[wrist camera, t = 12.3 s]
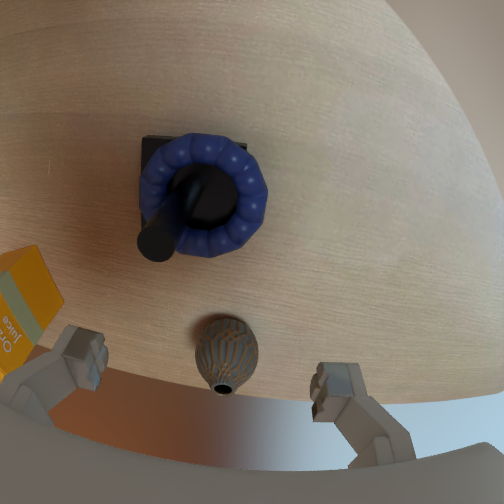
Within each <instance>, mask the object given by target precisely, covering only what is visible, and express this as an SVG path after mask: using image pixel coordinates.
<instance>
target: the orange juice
mask: <svg viewBox="0 0 504 504" xmlns="http://www.w3.org/2000/svg"><path fill="white" fill-rule="evenodd" d="M63 303H64V301H63V299H62V297H61V295H60V293H59V291H58V289H57V287H56V285H55V284H54V282H53V280H52V278H51V276H50V274H49V272H48V270H47V268H46V265H45V263H44V261H43V259H42V257H41V255H40V253H39V250H38V248H37V246H36V245H32V246H29V247H25V248H21V249H18V250H14V251H11V252H7V253H4V254H2V255H1V256H0V383H1V381H2V380H3V378H4V376H5V375H7V374H8V373H10V372H12V371H14V370H16V369H17V368H19V367H21V366H22V365H23V363H24V362H25V360H26V358H27V357H28V355H29V354H30V352H31V350H32V349H33V347H35V345H36V344H37V342H38V340H39V339H40V337H41V336H42V334H43V333H44V331H45V329H46V328H47V326H48V325H49V323H50V322H51V320H52V319H53V318H54V316H55V315H56V313H57V312H58V310H59V309H60V308H61V306H62V305H63Z"/></svg>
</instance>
